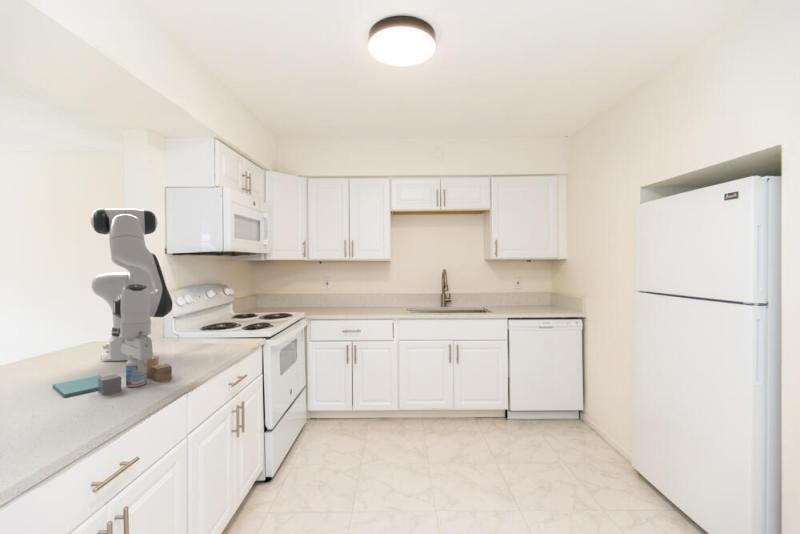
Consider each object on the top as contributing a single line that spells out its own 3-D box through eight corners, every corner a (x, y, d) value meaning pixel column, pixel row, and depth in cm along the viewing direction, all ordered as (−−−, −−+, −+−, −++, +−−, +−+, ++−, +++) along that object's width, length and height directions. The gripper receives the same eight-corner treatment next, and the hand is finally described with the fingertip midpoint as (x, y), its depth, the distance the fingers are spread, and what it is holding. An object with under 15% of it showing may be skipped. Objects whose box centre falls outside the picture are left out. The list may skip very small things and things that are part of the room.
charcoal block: (98, 392, 123) (98, 377, 123) (116, 388, 127) (116, 374, 127) (102, 395, 120) (102, 380, 120) (121, 391, 124) (121, 376, 124)
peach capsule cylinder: (140, 376, 140) (140, 358, 140) (155, 373, 144) (155, 355, 144) (146, 379, 137) (145, 360, 137) (161, 375, 141) (160, 357, 141)
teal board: (52, 387, 128) (52, 384, 128) (99, 377, 138) (99, 375, 138) (64, 397, 118) (64, 394, 118) (113, 386, 128) (113, 383, 128)
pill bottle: (124, 384, 130) (123, 353, 130) (144, 380, 135) (144, 350, 135) (127, 388, 126) (127, 356, 126) (148, 384, 131) (148, 353, 131)
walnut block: (151, 379, 136) (151, 366, 136) (166, 376, 140) (166, 363, 140) (156, 382, 133) (156, 368, 133) (171, 378, 138) (171, 365, 137)
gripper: (158, 332, 127) (158, 372, 127) (135, 326, 139) (136, 362, 139) (136, 335, 122) (136, 376, 122) (115, 328, 134) (115, 366, 134)
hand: (136, 369), depth 130 cm, fingers closed on pill bottle, 6 cm apart
